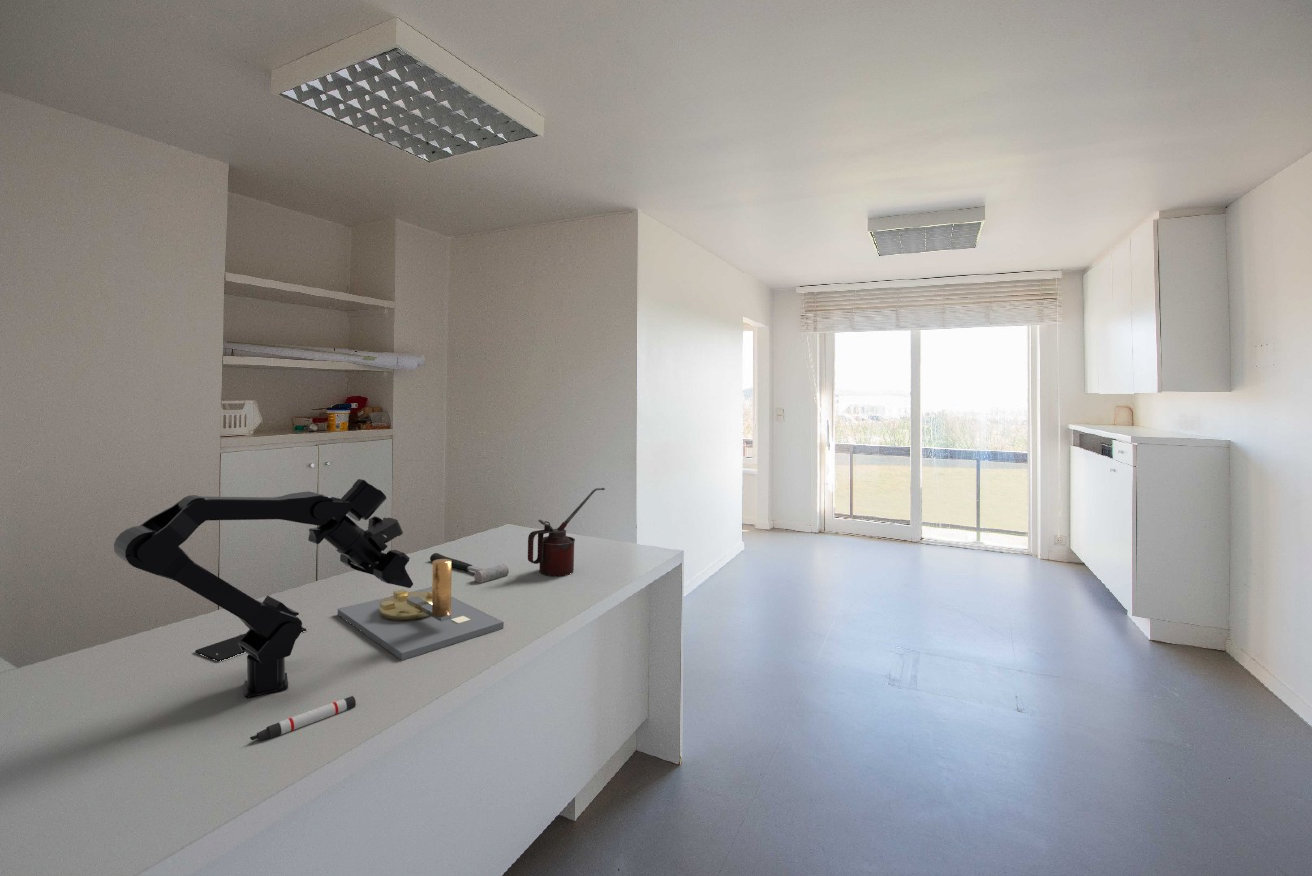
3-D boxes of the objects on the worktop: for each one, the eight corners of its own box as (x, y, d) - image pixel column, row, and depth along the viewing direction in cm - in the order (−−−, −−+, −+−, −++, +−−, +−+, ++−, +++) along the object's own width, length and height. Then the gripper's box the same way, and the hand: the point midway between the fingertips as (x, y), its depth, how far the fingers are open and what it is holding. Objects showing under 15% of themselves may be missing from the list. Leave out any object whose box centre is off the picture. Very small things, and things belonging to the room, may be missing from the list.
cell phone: (307, 632, 131) (307, 628, 131) (219, 664, 115) (219, 659, 115) (282, 624, 135) (282, 620, 135) (193, 654, 119) (193, 650, 119)
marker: (350, 704, 102) (350, 693, 102) (355, 709, 101) (355, 697, 100) (247, 743, 90) (247, 730, 90) (252, 748, 89) (251, 735, 89)
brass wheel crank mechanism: (369, 608, 141) (369, 547, 140) (425, 595, 151) (425, 538, 150) (415, 637, 125) (416, 569, 124) (474, 620, 136) (474, 557, 135)
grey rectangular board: (337, 614, 141) (337, 607, 141) (431, 592, 159) (431, 586, 159) (402, 660, 119) (402, 652, 118) (503, 628, 136) (503, 620, 136)
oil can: (539, 581, 171) (541, 497, 169) (520, 572, 179) (521, 492, 177) (613, 565, 190) (615, 489, 189) (593, 557, 198) (595, 485, 196)
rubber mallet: (447, 548, 193) (508, 565, 175) (447, 559, 193) (508, 577, 176) (421, 554, 185) (482, 572, 168) (421, 566, 185) (482, 584, 168)
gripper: (401, 513, 115) (449, 559, 125) (356, 501, 127) (403, 543, 136) (360, 559, 110) (413, 603, 119) (316, 542, 121) (368, 583, 130)
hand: (400, 581), depth 126 cm, fingers open, 9 cm apart
